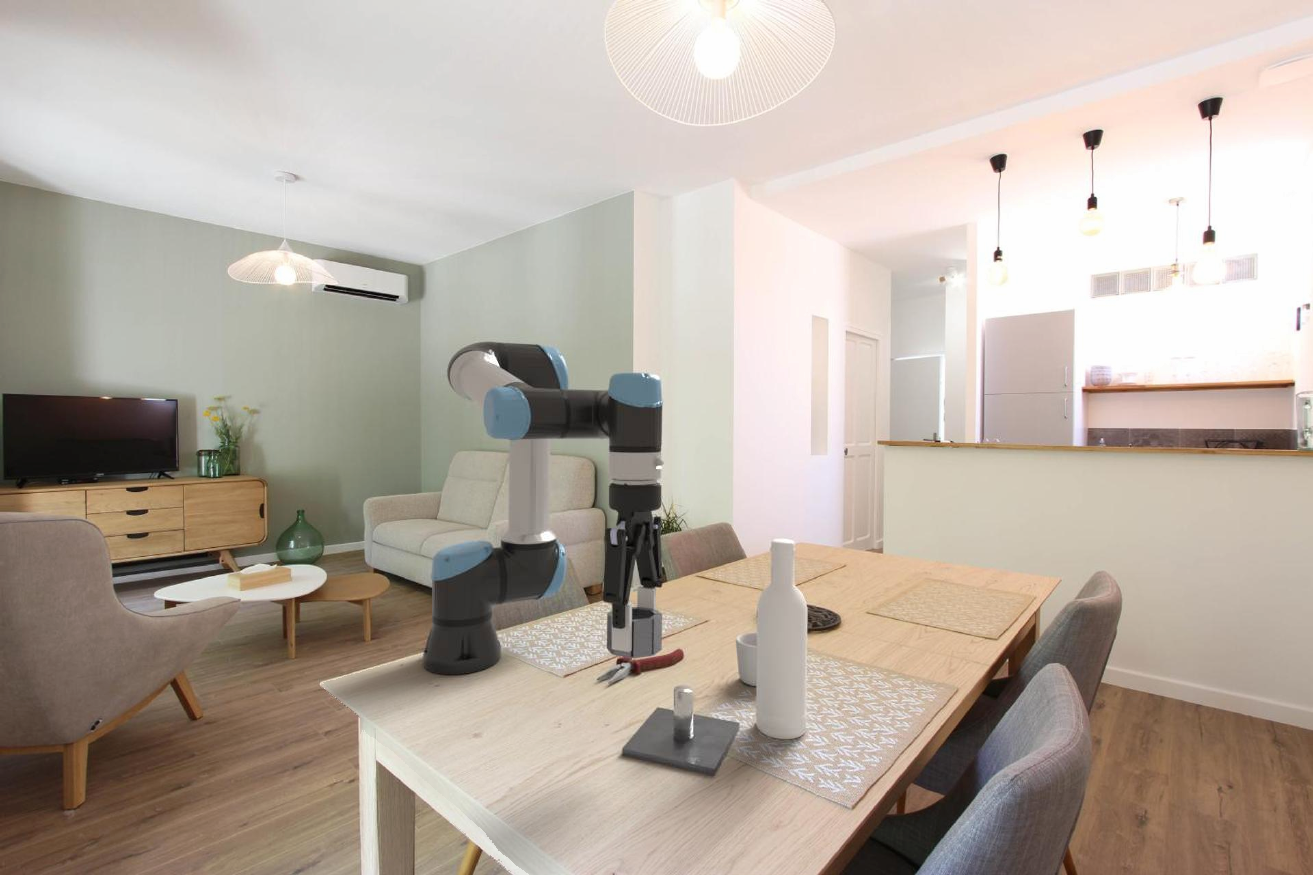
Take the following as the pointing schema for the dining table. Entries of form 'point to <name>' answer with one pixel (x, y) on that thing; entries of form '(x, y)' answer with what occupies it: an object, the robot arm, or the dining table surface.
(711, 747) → the piston jig
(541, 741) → the dining table surface
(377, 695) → the dining table surface
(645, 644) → the ring
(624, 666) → the pliers
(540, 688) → the dining table surface
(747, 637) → the cup
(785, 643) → the bottle
